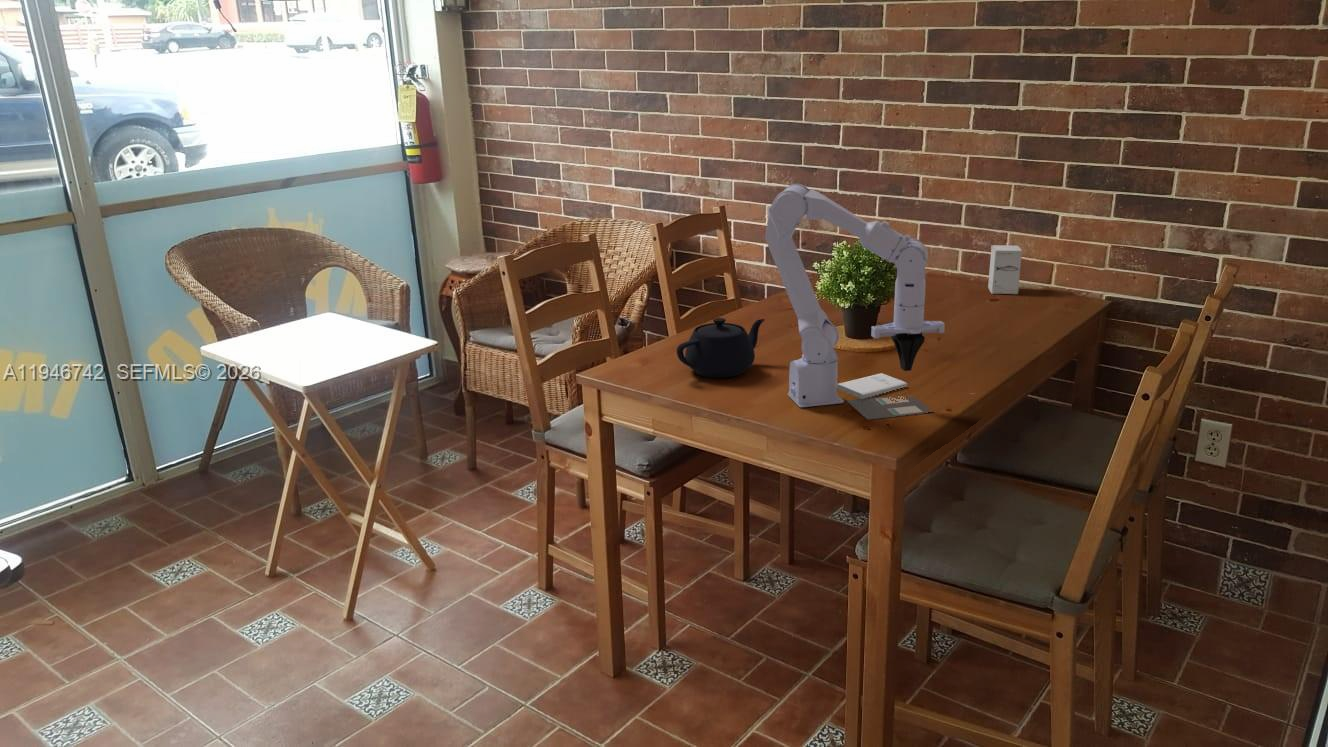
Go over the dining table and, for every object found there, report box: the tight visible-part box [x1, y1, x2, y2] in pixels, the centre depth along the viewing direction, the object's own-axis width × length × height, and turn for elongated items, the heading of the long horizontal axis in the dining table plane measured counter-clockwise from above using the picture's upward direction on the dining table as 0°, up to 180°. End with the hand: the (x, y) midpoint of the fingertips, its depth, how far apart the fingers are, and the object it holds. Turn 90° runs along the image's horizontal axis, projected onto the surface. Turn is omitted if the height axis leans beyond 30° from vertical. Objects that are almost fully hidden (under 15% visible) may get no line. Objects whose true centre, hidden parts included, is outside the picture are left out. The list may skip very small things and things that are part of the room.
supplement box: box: [987, 244, 1023, 295], centre depth 288 cm, size 7×7×13 cm
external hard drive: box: [837, 372, 908, 399], centre depth 217 cm, size 2×8×12 cm
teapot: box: [676, 317, 766, 379], centre depth 229 cm, size 25×16×12 cm, turn 126°
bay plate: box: [846, 393, 933, 421], centre depth 206 cm, size 14×11×1 cm
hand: (905, 369), depth 204 cm, fingers closed
